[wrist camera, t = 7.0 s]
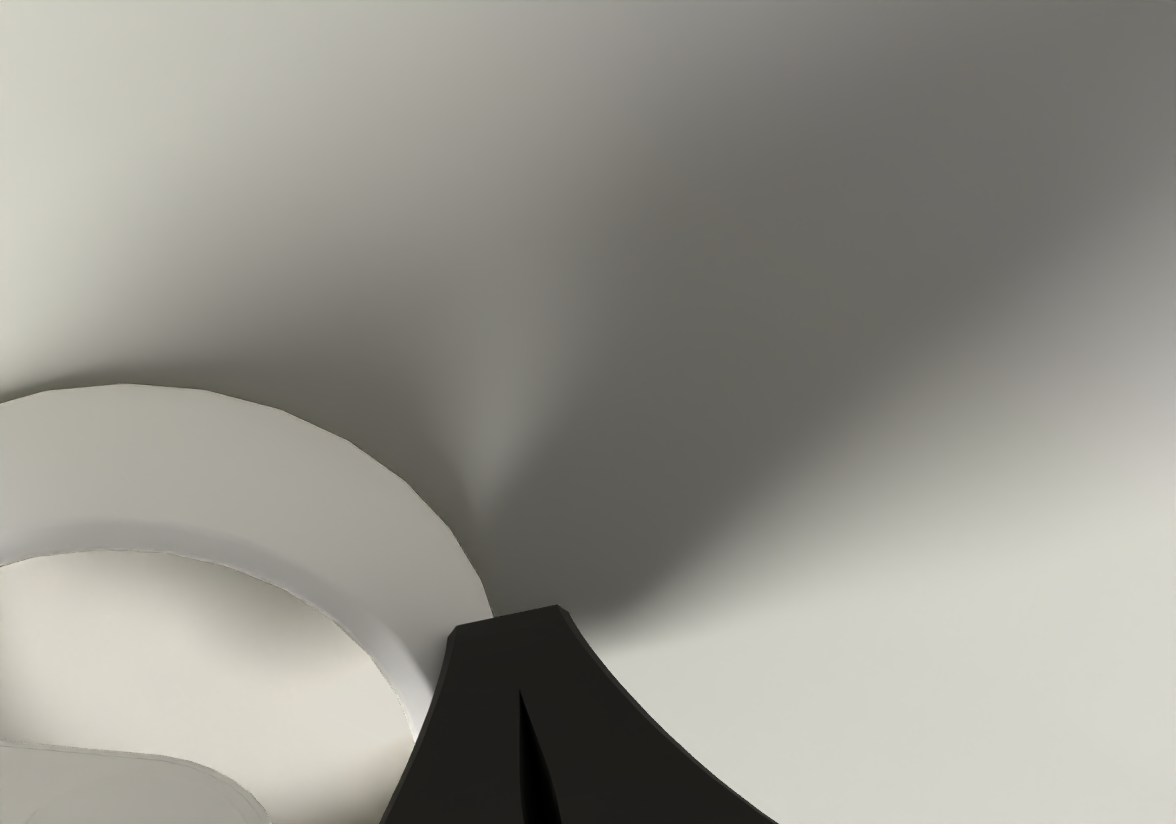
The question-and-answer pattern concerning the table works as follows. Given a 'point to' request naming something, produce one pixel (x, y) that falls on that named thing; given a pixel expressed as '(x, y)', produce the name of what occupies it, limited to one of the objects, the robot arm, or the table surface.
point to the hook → (219, 560)
